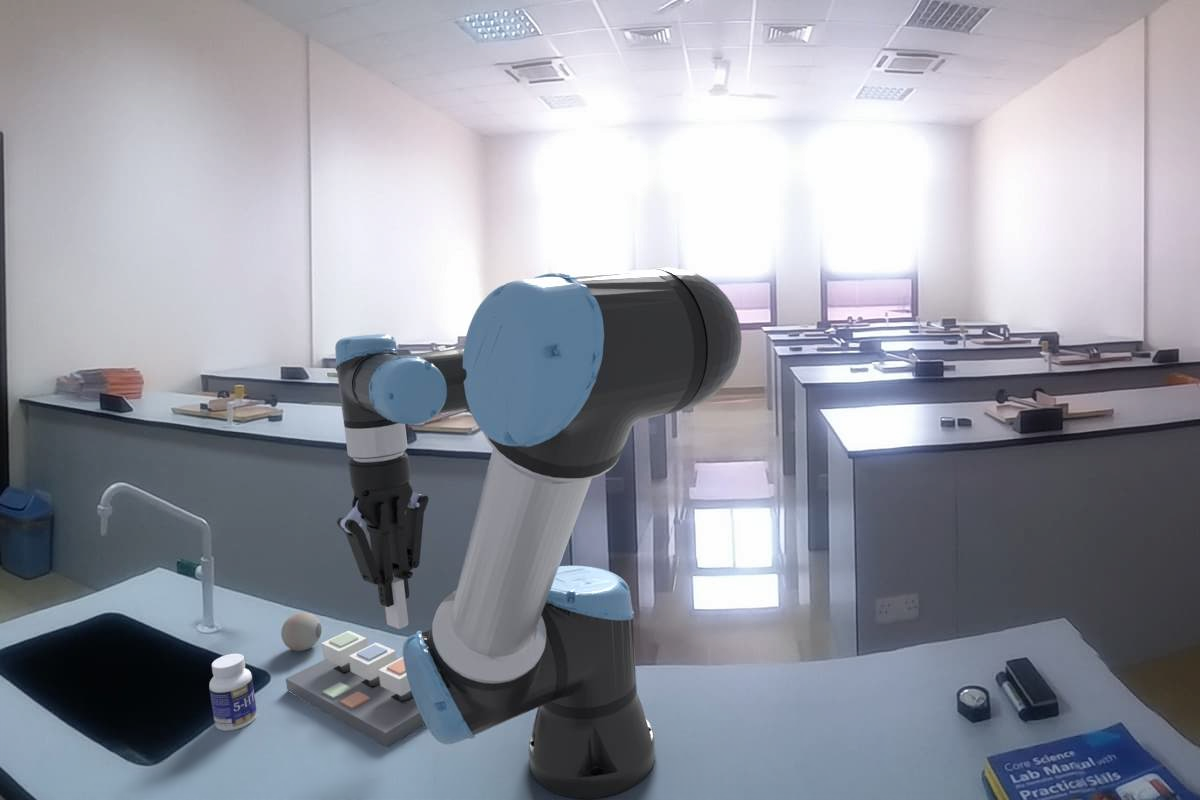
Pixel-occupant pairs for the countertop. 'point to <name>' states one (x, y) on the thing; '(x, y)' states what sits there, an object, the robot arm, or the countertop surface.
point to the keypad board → (356, 702)
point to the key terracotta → (396, 679)
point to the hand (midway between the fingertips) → (397, 624)
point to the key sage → (343, 648)
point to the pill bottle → (232, 693)
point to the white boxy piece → (371, 662)
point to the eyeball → (301, 631)
